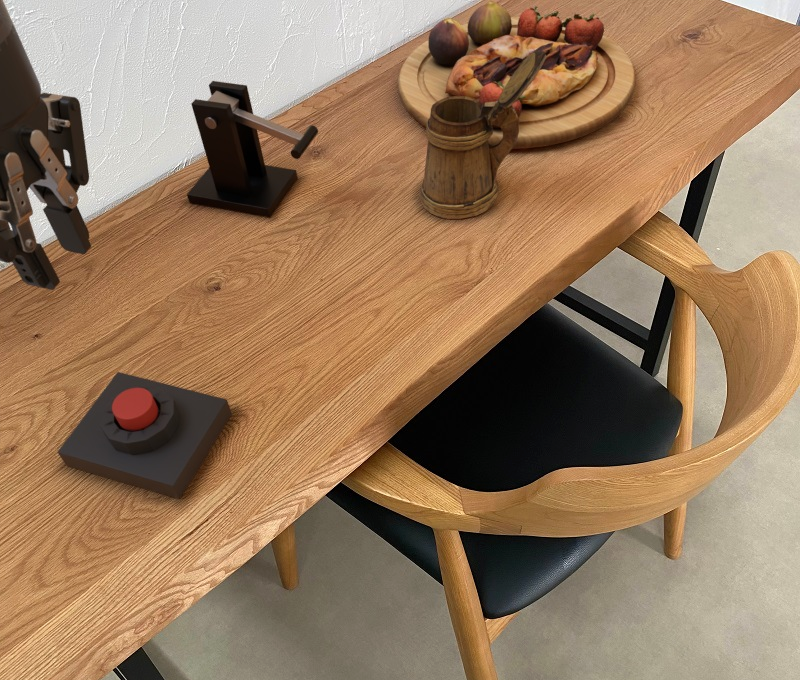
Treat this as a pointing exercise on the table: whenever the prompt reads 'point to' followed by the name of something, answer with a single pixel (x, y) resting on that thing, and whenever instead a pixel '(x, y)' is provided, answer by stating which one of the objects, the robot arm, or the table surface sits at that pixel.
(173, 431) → the button box
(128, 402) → the button
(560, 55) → the wooden plate
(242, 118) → the lever
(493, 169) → the wooden mug
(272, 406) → the table surface
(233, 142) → the bracket
